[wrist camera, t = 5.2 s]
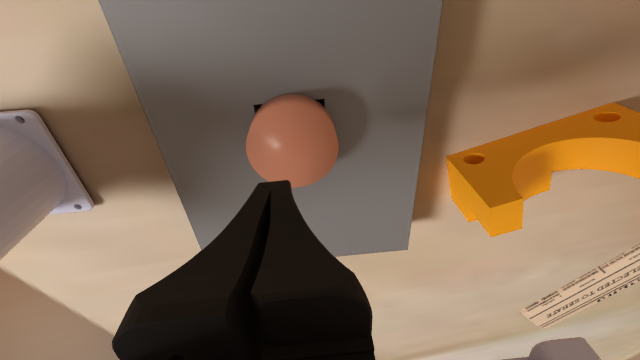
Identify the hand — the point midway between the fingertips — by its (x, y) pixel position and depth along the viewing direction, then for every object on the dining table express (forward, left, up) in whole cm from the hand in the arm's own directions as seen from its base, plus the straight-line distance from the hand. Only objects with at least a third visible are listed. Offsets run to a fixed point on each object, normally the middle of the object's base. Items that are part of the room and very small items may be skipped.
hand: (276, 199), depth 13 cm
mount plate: (+1, 0, -9) cm, 9 cm away
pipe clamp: (+18, -5, -9) cm, 21 cm away
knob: (+1, 0, -9) cm, 9 cm away
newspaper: (+35, -20, -10) cm, 42 cm away
